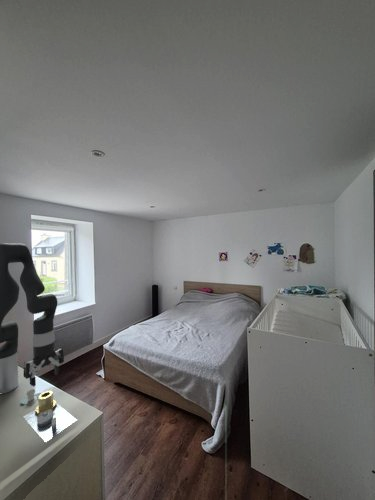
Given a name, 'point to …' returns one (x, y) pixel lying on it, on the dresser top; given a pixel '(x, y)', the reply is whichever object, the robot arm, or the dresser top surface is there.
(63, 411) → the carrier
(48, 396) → the brass octagonal tube
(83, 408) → the dresser top surface
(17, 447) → the dresser top surface
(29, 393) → the pacifier
